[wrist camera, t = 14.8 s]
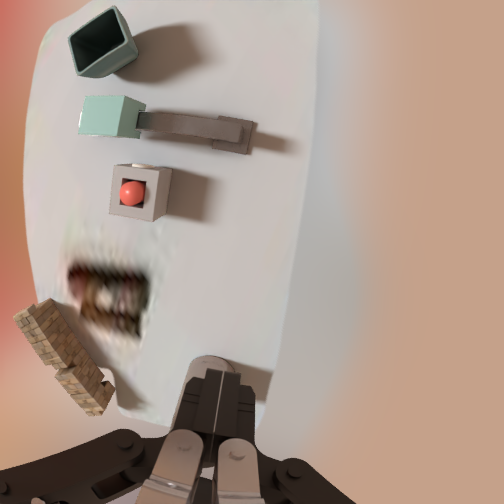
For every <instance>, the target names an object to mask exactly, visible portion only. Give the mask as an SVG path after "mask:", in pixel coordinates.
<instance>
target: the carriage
mask: <svg viewBox="0 0 504 504" xmlns="http://www.w3.org/2000/svg"><path fill="white" fill-rule="evenodd" d="M145 109H146V104H144V103H141V102H139V101H137V100H134V99H132V98H129V97H127V96H85V101H84V105H83V110H82V115H81V120H80V126H79V132H78V134H84V135H98V136H112V137H125V138H137V139H140V133H141V132H139V131H135V128H136V123H137V118H138V113H139V111H145Z"/></svg>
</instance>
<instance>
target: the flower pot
mask: <svg viewBox="0 0 504 504" xmlns="http://www.w3.org/2000/svg"><path fill="white" fill-rule="evenodd" d="M68 43H69V47H70V51H71V54H72V58H73V62H74V66H75V70H76V74H77V75H78V76H83V77H89V78H102V77H105V76H108V75H110V74H112V73H114V72H115V71H117V70H119V69H120V68H122V67H123V66H125V65H127V64H128V63H130V62H132V61H133V60H135V59H136V58H137V57H138V50H137V47H136V45H135V43H134V40H133V38H132V35H131V32H130V30H129V27H128V24H127V22H126V20H125V19H124V17H123V16H122V14H121V13H120V11H119V10H118V9H117V7H116V6H112V7H110V8H108V9H107V10H105V11H104V12H102V13H101V14H99V15H98V16H96V17H95V18H93V19H92V20H90V21H89V22H87V23H86V24H85V25H83V26H82V27H80V28H79V29H78V30H76V31H75V32H73V33H72V34H71V35H70V36H69V37H68Z"/></svg>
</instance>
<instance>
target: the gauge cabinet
mask: <svg viewBox="0 0 504 504" xmlns="http://www.w3.org/2000/svg"><path fill="white" fill-rule="evenodd" d="M171 175H172V169H168V168H161V167H154V166H152V165H146V164H121V165H114V170H113V178H112V187H111V197H110V209H109V214H112V215H118V216H123V217H128V218H134V219H139V220H144V221H149V222H154V221H155V220H157V219H158V218H160V217H161V216H163V215H165V214H166V210H167V202H168V195H169V188H170V182H171ZM136 180H141V181H147V182H146V190H145V198H144V201H142V202H140V203H137V204H135V205H132V206H128V205H125V204H124V203H123V202H122V201H121V199H120V195H119V192H120V189H121V187H122V185H124V184H125V183H127V182H132V181H136Z"/></svg>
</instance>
